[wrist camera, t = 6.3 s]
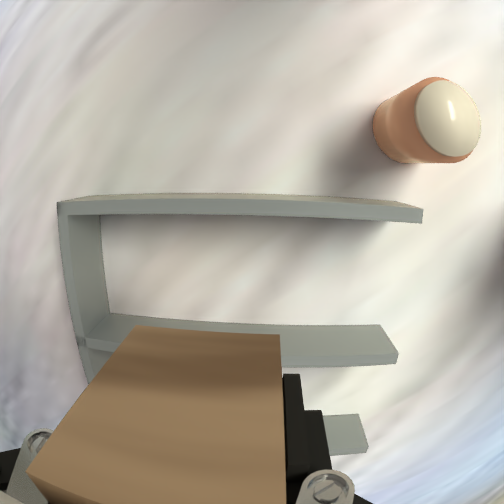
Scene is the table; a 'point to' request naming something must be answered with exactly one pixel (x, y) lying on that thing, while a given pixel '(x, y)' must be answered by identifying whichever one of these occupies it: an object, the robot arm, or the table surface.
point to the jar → (428, 123)
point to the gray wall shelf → (291, 336)
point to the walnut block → (173, 424)
